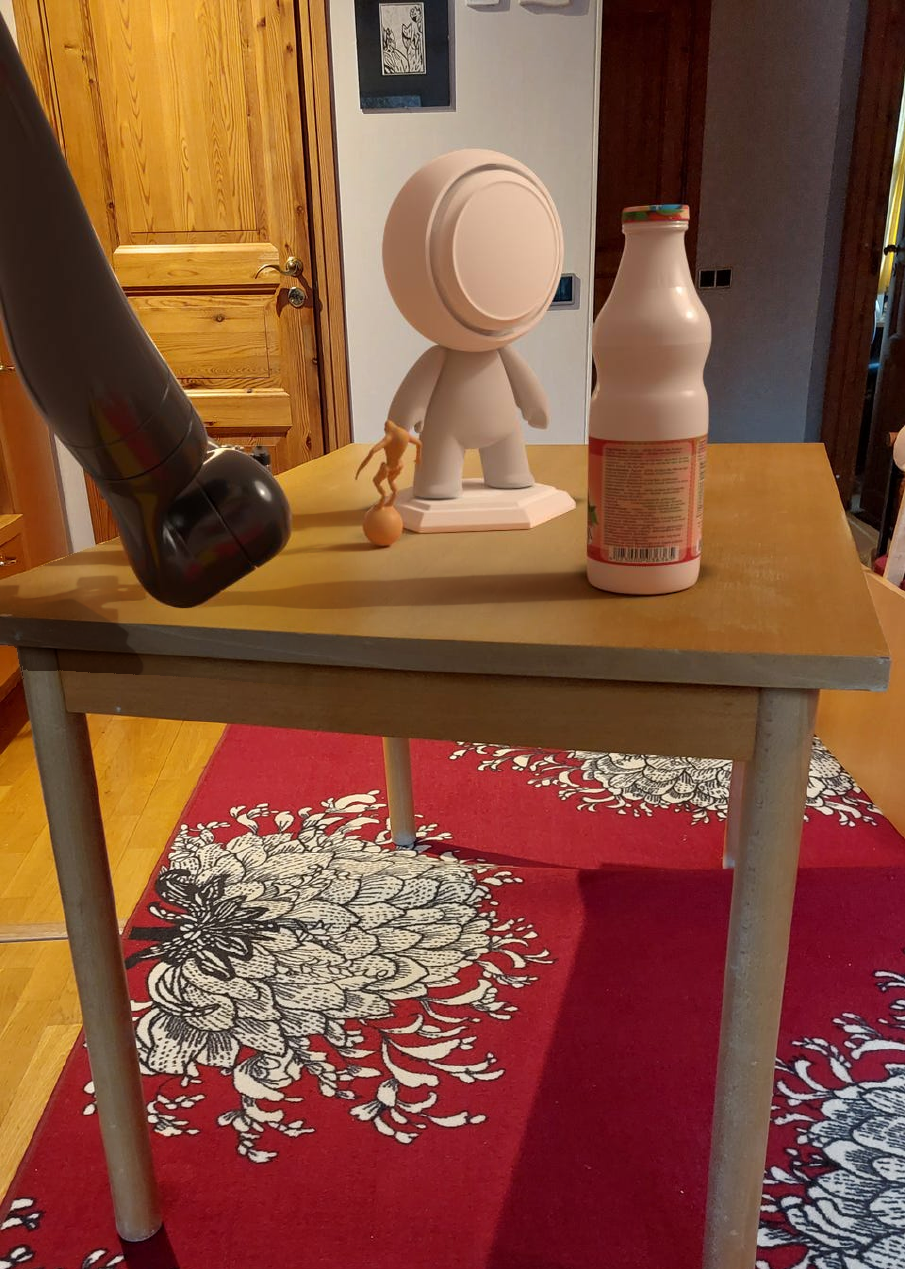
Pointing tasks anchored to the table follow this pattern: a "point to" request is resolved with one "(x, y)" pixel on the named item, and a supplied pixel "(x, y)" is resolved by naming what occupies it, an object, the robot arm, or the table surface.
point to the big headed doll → (473, 337)
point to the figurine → (382, 518)
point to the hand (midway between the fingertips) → (180, 459)
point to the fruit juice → (648, 414)
